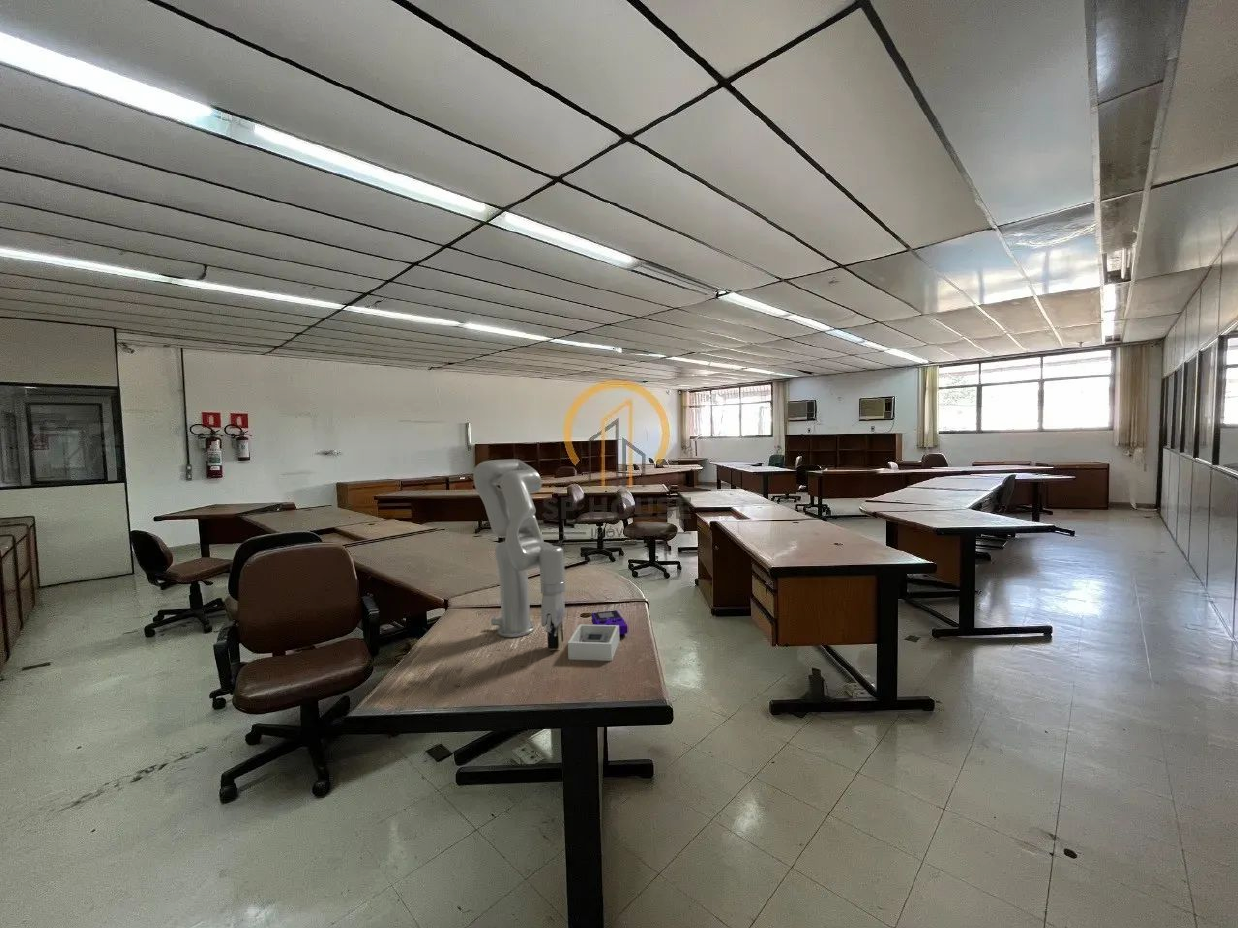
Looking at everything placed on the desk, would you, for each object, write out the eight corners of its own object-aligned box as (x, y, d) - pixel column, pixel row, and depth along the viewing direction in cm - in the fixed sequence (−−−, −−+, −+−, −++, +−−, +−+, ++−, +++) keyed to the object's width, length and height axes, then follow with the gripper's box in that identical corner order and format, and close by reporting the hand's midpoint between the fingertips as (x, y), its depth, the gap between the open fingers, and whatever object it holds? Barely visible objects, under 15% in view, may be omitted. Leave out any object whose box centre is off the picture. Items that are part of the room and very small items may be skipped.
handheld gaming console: (600, 627, 151) (591, 611, 165) (600, 643, 151) (591, 626, 165) (628, 623, 153) (616, 608, 167) (628, 639, 153) (617, 623, 168)
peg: (549, 650, 146) (548, 622, 145) (552, 646, 148) (551, 618, 148) (559, 650, 145) (557, 622, 145) (561, 646, 148) (560, 618, 148)
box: (568, 659, 139) (567, 642, 139) (580, 639, 153) (579, 624, 152) (611, 660, 137) (611, 643, 137) (619, 640, 151) (619, 625, 150)
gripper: (549, 578, 155) (552, 633, 156) (532, 595, 138) (535, 656, 139) (571, 579, 154) (574, 634, 154) (556, 595, 137) (559, 657, 138)
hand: (555, 644), depth 147 cm, fingers open, 4 cm apart
